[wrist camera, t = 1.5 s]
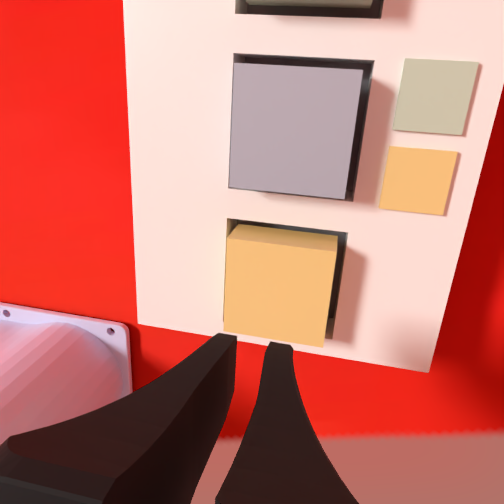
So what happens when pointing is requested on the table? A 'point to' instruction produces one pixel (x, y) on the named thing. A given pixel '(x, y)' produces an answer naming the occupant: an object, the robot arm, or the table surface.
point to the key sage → (315, 3)
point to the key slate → (293, 128)
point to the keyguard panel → (360, 168)
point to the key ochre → (279, 283)
